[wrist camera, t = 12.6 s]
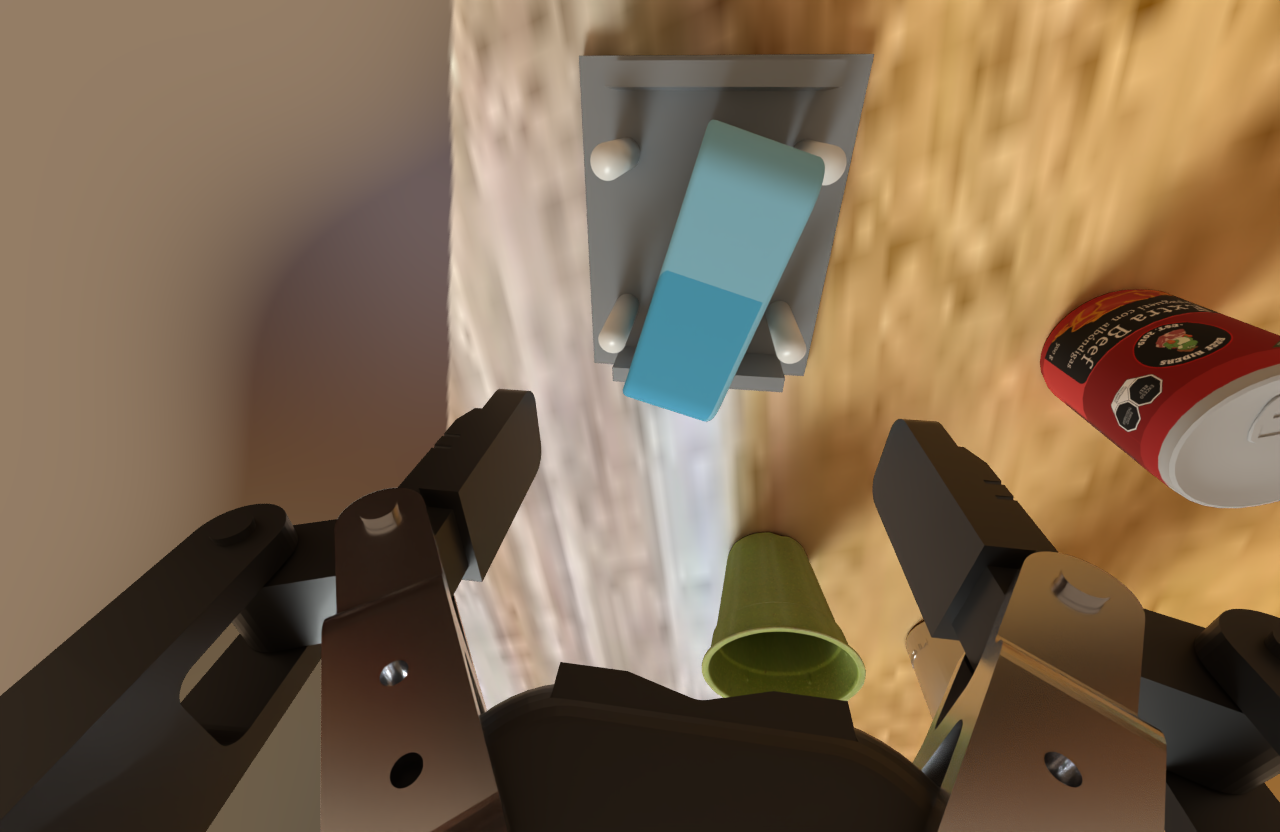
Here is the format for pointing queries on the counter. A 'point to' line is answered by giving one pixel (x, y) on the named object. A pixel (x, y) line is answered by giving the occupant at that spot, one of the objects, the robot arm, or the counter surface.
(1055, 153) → the counter surface
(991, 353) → the counter surface
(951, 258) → the counter surface
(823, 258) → the tray
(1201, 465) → the canned food
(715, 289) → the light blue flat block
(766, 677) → the plant pot
